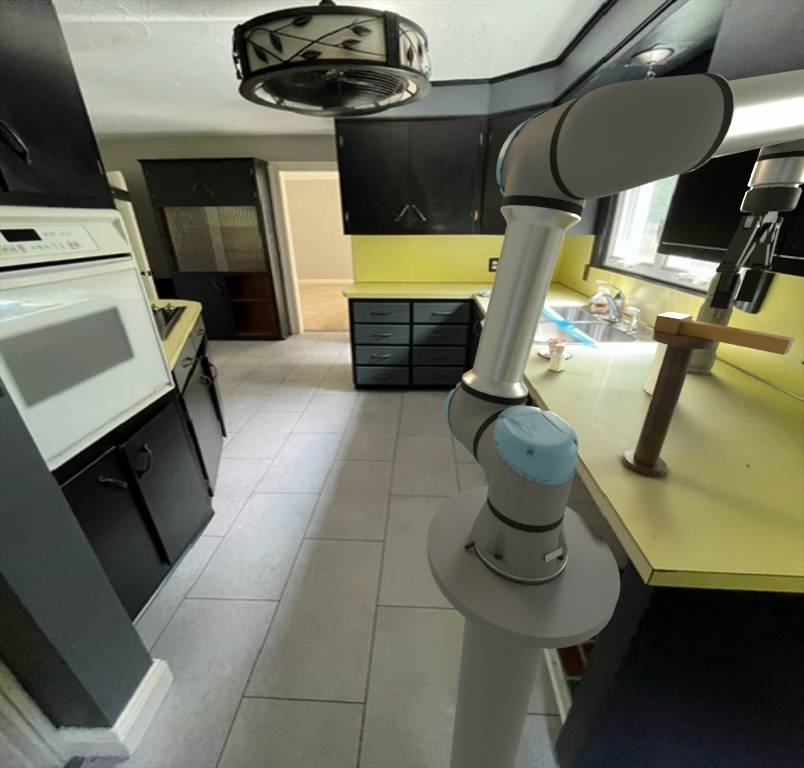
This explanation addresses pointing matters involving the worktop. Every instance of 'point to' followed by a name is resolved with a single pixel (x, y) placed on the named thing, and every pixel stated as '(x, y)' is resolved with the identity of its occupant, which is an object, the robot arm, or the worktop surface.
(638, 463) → the dark brown spool
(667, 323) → the wooden t-shaped block
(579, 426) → the worktop surface
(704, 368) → the greenish-grey tall rounded piece
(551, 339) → the teacup
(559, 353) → the pepper shaker
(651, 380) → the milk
